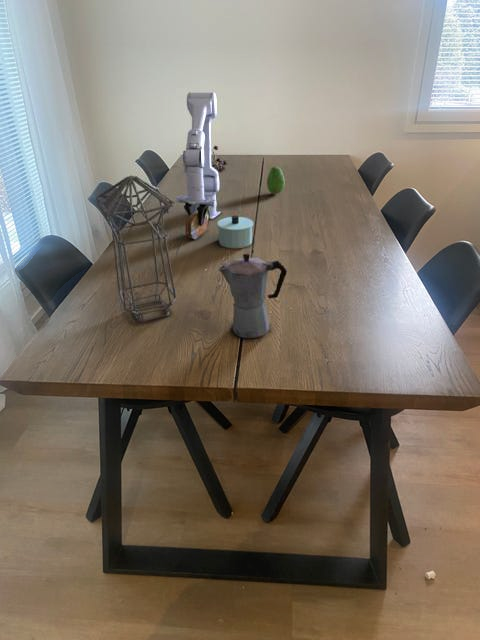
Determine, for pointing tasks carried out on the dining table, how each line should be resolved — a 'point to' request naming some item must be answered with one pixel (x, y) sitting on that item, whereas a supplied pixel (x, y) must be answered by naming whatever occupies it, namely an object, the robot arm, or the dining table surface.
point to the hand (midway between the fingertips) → (197, 224)
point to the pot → (235, 238)
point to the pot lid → (235, 223)
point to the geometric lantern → (167, 204)
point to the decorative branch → (218, 161)
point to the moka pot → (250, 293)
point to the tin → (196, 225)
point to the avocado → (275, 180)
